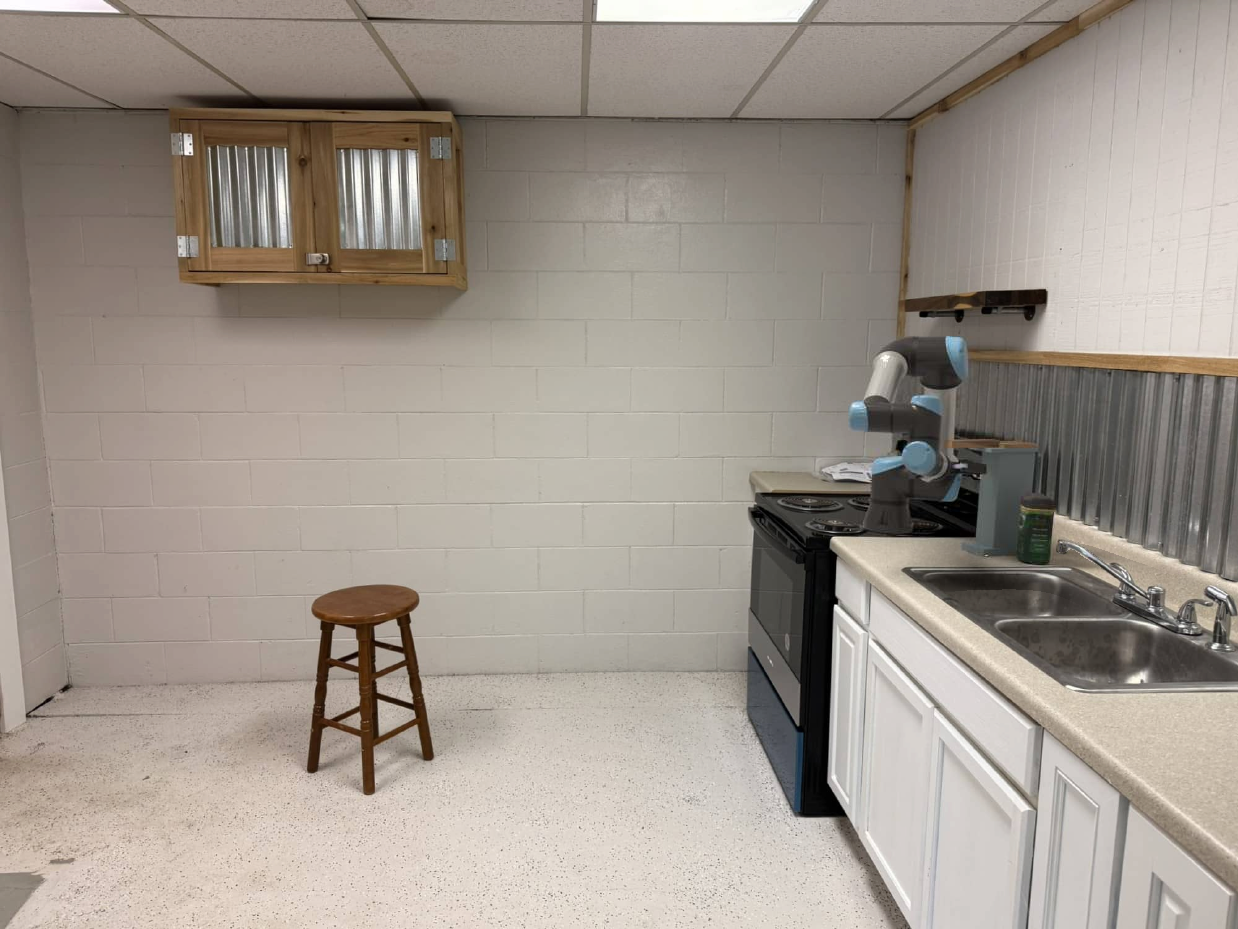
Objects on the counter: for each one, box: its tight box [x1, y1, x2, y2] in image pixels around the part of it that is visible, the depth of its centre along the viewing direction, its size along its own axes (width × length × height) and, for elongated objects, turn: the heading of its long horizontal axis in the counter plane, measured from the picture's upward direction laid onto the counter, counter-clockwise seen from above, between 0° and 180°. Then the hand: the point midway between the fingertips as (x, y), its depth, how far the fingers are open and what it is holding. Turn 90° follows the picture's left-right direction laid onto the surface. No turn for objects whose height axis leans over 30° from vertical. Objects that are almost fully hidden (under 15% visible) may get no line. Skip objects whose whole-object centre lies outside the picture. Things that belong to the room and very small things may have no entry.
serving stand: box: [960, 447, 1040, 557], centre depth 241 cm, size 9×16×30 cm, turn 108°
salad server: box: [945, 438, 1038, 449], centre depth 238 cm, size 8×26×2 cm, turn 108°
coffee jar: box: [1015, 492, 1056, 565], centre depth 231 cm, size 10×8×19 cm
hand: (953, 475), depth 236 cm, fingers open, 13 cm apart
